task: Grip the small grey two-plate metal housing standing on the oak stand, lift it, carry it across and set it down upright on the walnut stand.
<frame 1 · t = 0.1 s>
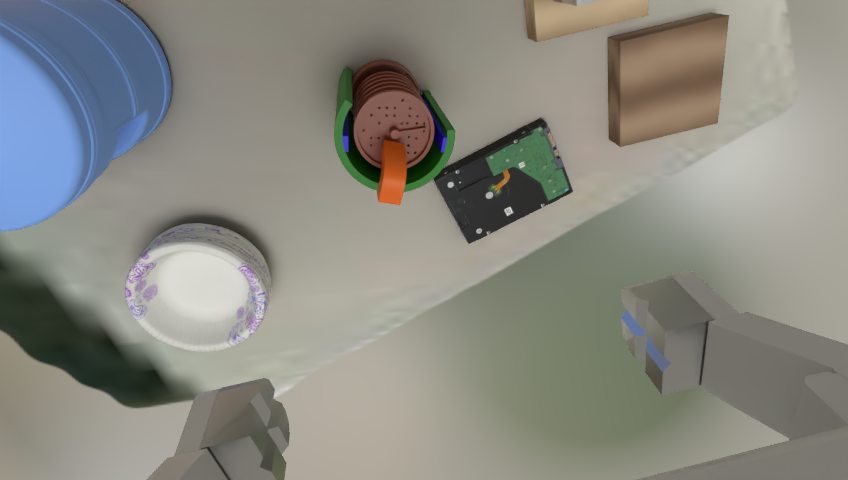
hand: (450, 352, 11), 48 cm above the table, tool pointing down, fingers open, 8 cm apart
water jug: (92, 69, 51), on the table
paper bowls: (213, 264, 63), on the table
disk drive: (499, 178, 63), on the table
motor: (383, 100, 56), on the table
stand b: (657, 79, 59), on the table
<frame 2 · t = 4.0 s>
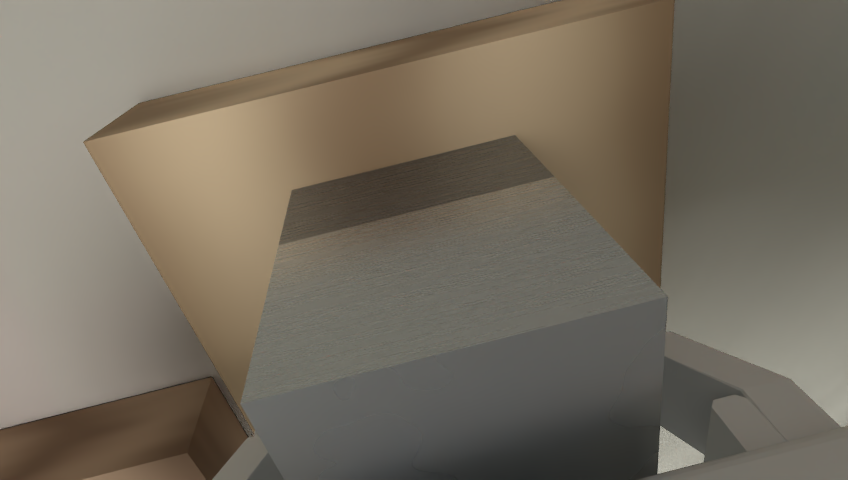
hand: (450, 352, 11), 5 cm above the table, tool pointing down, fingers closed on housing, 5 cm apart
stand a: (423, 246, 15), on the table
housing: (438, 304, 13), point 3 cm above the table, touching gripper, stand a
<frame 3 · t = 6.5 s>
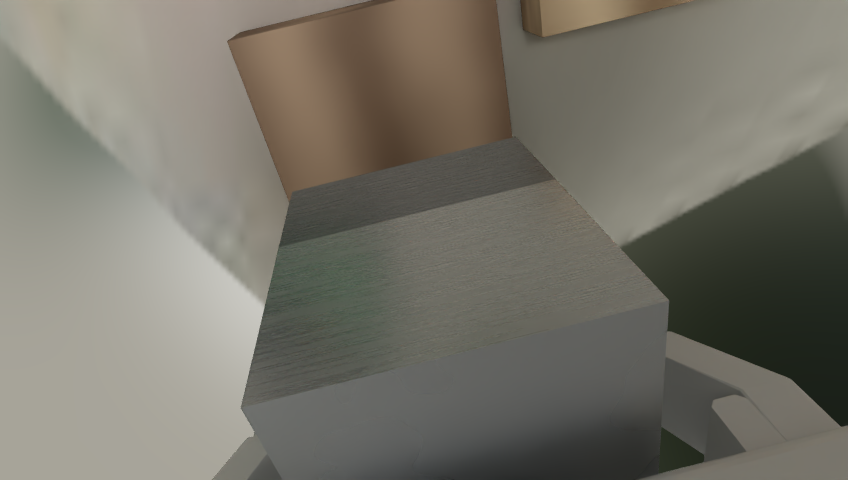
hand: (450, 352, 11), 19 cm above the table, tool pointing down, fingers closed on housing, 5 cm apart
housing: (438, 306, 13), point 17 cm above the table, touching gripper
stand b: (388, 121, 27), on the table
when the fingers open (7 cm above the table, at t = 9.1 s): housing drops 2 cm, resting on stand b.
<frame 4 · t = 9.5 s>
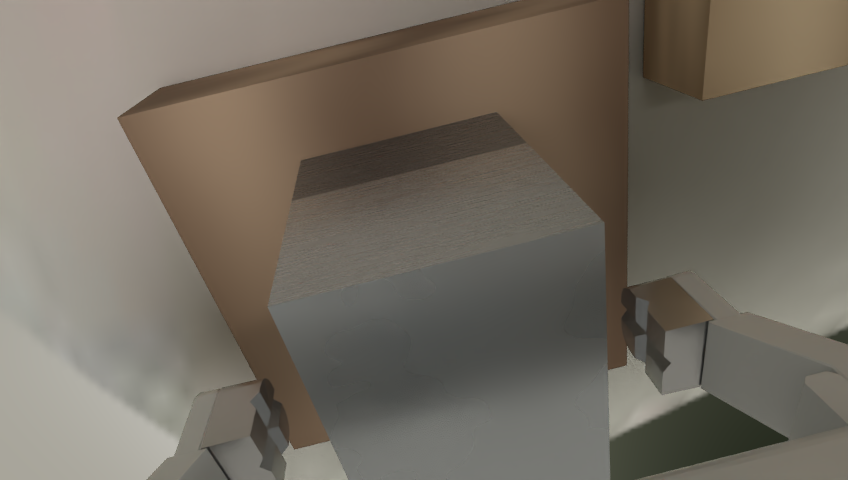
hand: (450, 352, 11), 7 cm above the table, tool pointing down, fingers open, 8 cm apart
housing: (430, 266, 14), point 3 cm above the table, touching stand b
stand b: (414, 221, 17), on the table
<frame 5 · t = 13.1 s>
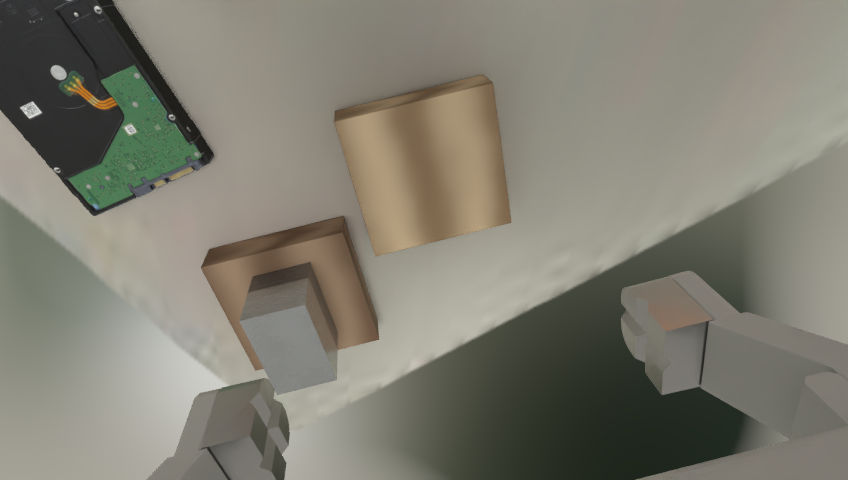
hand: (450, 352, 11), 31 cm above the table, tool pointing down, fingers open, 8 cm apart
stand a: (424, 162, 42), on the table
housing: (297, 305, 44), point 3 cm above the table, touching stand b
disk drive: (99, 94, 37), on the table
stand b: (299, 286, 47), on the table
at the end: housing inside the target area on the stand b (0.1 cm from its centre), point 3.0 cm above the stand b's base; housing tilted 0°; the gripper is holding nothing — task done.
